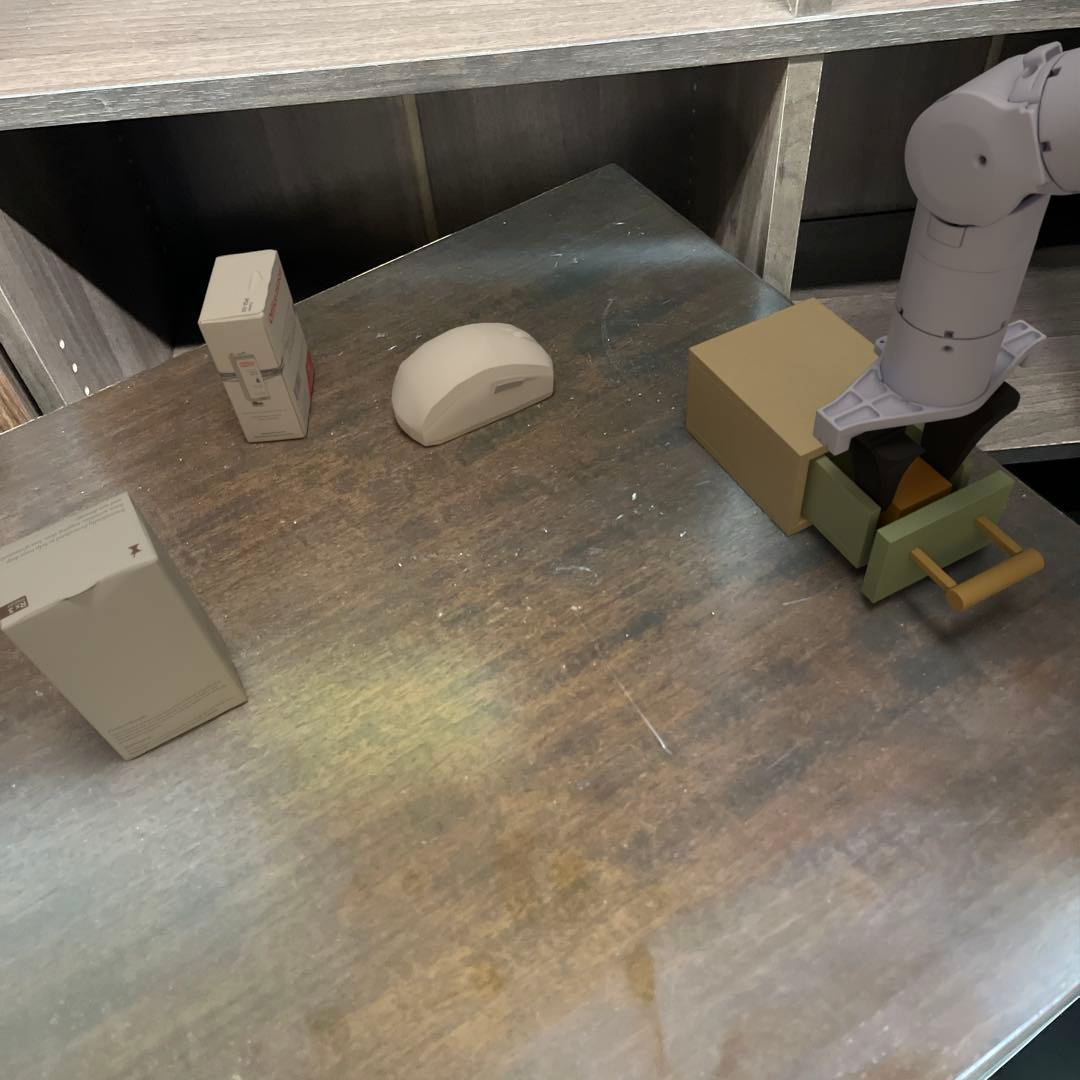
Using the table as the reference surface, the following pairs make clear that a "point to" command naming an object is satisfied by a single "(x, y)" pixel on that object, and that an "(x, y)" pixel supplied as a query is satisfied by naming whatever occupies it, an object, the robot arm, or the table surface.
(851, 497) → the drawer
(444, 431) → the computer mouse
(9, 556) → the cosmetic box
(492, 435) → the table surface
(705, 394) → the cabinet
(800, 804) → the table surface
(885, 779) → the table surface
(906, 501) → the block
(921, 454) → the robot arm
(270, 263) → the ink box
